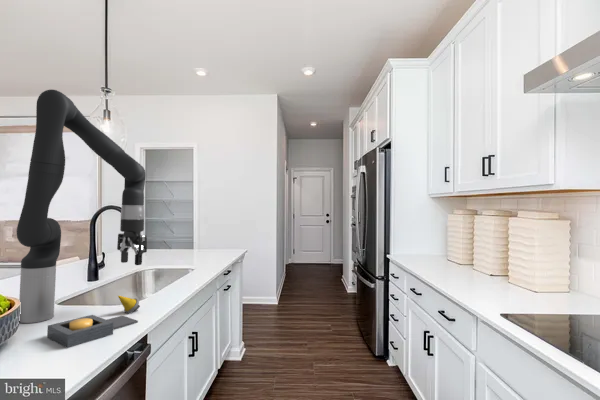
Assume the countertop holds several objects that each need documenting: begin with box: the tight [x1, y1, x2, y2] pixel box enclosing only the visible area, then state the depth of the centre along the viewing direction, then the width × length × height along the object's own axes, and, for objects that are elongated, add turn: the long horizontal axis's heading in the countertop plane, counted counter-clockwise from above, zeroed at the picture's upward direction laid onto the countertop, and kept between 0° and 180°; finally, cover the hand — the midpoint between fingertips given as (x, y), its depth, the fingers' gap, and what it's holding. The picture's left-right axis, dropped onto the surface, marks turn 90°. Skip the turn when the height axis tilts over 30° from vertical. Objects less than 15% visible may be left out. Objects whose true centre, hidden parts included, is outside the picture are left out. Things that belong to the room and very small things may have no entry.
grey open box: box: [46, 314, 114, 349], centre depth 96 cm, size 12×12×4 cm
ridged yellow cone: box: [117, 295, 141, 314], centre depth 118 cm, size 5×5×10 cm
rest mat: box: [106, 315, 139, 331], centre depth 107 cm, size 9×9×1 cm
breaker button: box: [69, 318, 93, 331], centre depth 96 cm, size 6×6×2 cm
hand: (131, 263), depth 119 cm, fingers open, 8 cm apart
